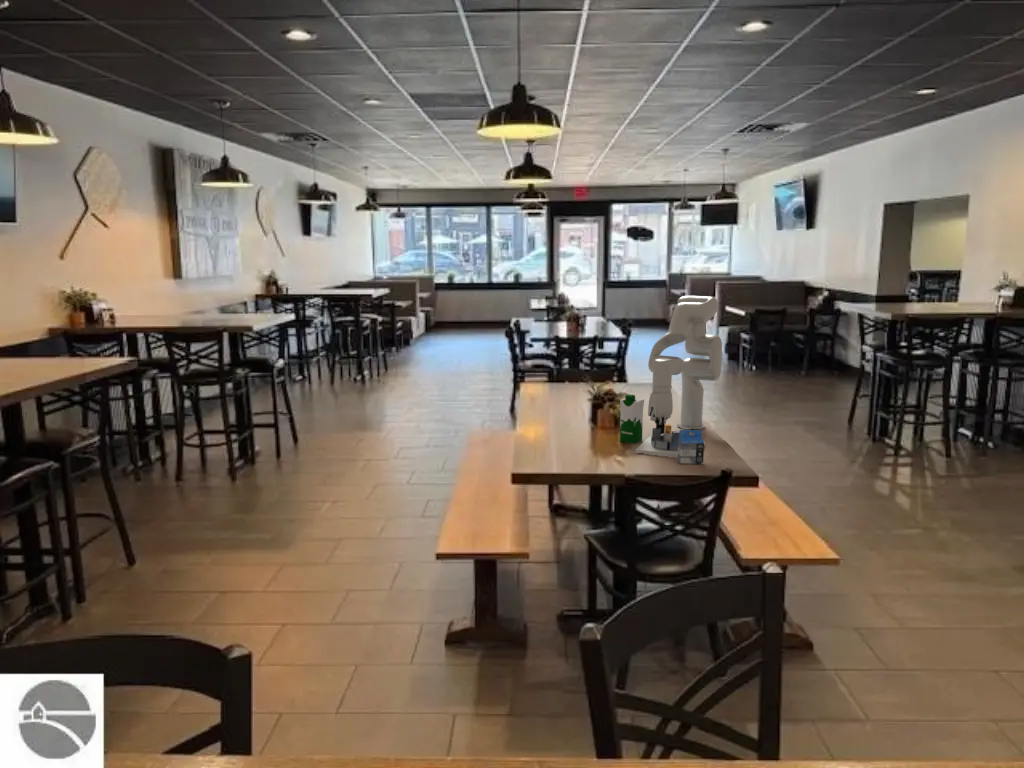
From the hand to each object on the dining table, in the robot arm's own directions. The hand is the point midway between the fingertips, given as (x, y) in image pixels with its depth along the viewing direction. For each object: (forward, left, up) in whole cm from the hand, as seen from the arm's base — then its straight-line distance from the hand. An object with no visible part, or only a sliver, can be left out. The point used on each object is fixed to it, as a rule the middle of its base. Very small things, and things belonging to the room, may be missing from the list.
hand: (660, 433), depth 300 cm
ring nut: (+3, +5, -4) cm, 7 cm away
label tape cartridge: (+19, +16, -6) cm, 25 cm away
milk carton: (-3, -13, -6) cm, 14 cm away
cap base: (+3, +5, -6) cm, 8 cm away
